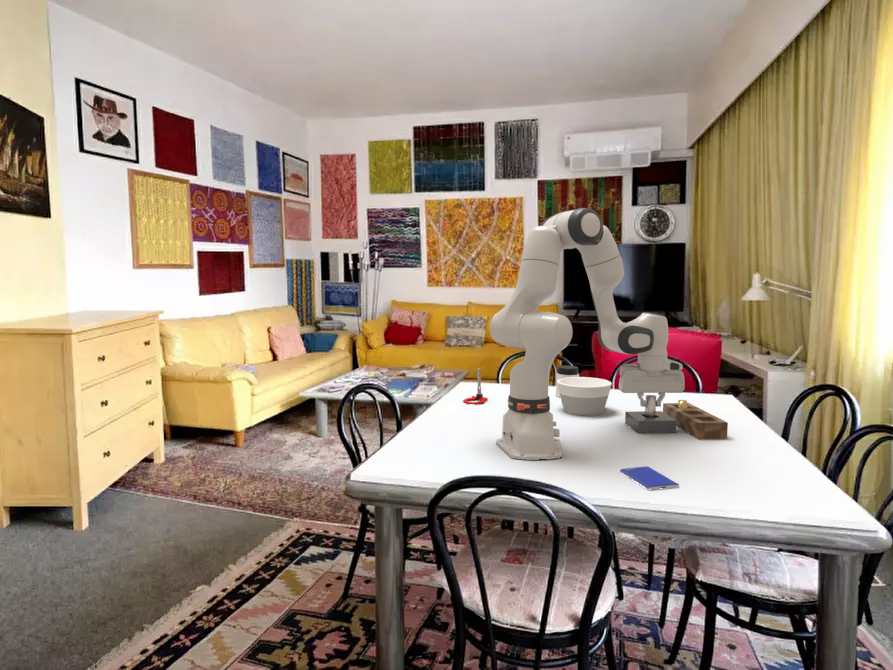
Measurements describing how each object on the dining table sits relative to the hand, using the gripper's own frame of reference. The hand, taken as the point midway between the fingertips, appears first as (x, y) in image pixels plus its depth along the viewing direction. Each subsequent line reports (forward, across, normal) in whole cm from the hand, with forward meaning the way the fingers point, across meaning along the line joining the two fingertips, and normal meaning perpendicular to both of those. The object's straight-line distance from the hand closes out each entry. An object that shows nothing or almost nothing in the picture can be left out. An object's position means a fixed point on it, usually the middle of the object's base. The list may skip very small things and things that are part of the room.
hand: (650, 406), depth 188 cm
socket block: (+7, 0, 0) cm, 7 cm away
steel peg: (+7, 0, 0) cm, 7 cm away
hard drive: (+8, -18, -46) cm, 50 cm away
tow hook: (+8, -53, +40) cm, 67 cm away
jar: (+7, -15, +48) cm, 51 cm away
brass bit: (+7, +14, +8) cm, 18 cm away
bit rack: (+7, +14, 0) cm, 16 cm away
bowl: (+8, -15, +24) cm, 29 cm away
